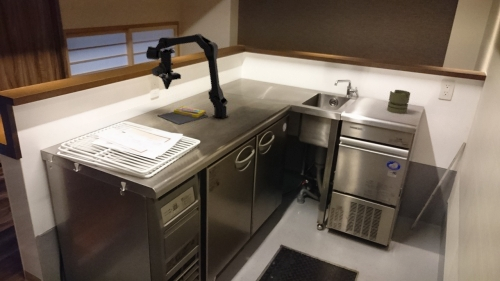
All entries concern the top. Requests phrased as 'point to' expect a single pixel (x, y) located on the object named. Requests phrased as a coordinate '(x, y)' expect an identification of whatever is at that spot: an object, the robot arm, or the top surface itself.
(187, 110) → the candy box
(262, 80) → the top surface
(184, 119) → the mat
